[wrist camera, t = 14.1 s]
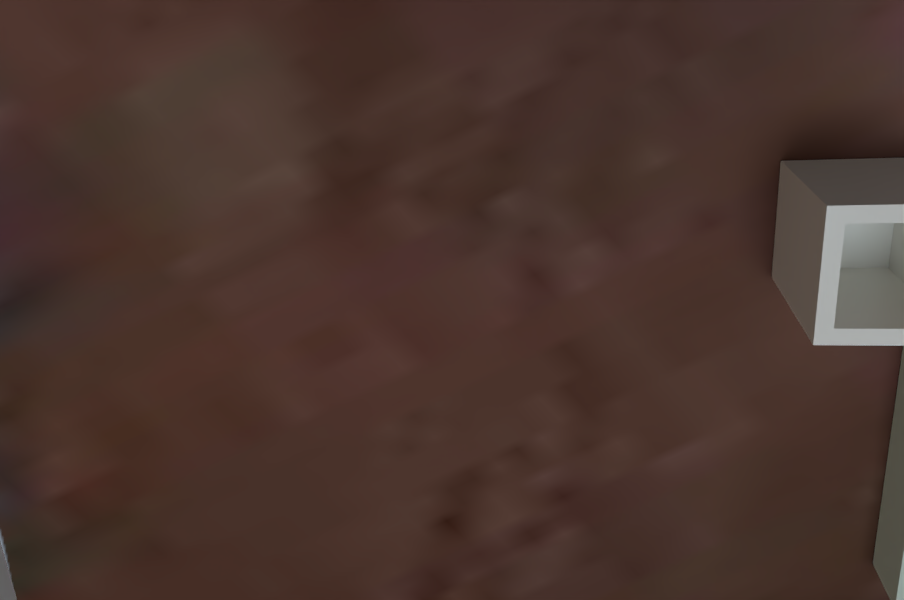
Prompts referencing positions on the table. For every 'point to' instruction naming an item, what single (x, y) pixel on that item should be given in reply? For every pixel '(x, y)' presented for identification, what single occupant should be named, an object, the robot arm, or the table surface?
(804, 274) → the cup
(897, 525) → the tray
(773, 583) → the table surface
